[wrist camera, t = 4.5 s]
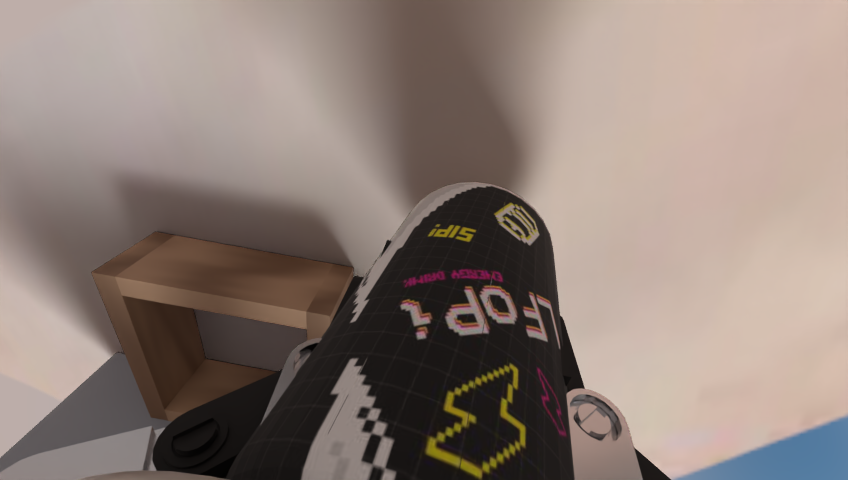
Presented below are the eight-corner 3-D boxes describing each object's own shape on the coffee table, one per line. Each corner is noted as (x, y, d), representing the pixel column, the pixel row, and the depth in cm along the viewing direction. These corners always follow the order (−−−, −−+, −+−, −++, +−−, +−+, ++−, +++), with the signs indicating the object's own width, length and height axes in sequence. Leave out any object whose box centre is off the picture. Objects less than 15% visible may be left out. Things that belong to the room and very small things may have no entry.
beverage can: (391, 186, 14) (21, 569, 4) (544, 162, 12) (612, 808, 2) (425, 303, 16) (254, 727, 6) (557, 298, 14) (619, 905, 4)
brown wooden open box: (353, 267, 17) (330, 316, 14) (346, 395, 22) (328, 450, 19) (155, 231, 18) (90, 272, 14) (192, 366, 23) (150, 417, 20)
